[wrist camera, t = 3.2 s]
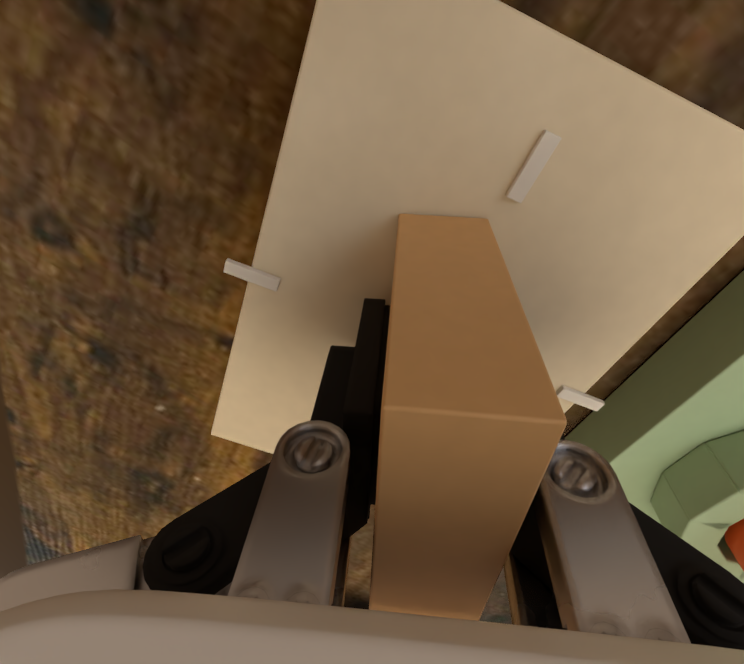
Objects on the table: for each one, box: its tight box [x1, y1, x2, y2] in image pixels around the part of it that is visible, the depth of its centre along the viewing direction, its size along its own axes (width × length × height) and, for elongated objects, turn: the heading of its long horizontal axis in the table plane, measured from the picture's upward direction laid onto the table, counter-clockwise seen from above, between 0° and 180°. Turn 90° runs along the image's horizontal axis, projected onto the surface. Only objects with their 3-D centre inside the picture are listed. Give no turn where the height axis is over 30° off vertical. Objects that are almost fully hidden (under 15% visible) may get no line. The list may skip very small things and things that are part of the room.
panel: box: [211, 0, 744, 454], centre depth 12 cm, size 14×11×3 cm
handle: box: [369, 214, 567, 621], centre depth 9 cm, size 7×2×6 cm, turn 178°
